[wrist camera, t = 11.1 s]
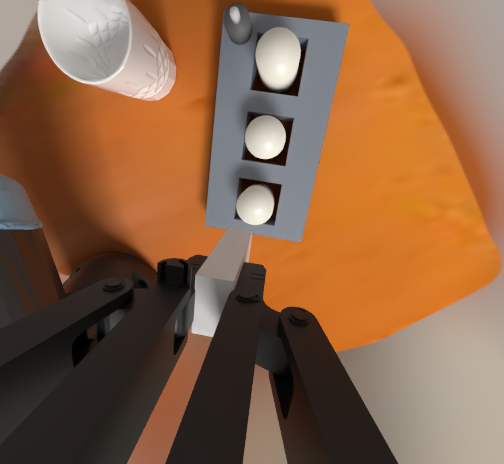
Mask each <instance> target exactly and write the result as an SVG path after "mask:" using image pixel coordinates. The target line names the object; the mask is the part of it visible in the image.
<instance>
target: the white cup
mask: <svg viewBox="0 0 504 464" xmlns="http://www.w3.org/2000/svg"><path fill="white" fill-rule="evenodd" d="M37 16H38V26H39V31H40V35H41V38H42V41H43V43H44V46H45V48H46V50H47V52H48V54H49V55H50V57H51V59H52V60H53V61H54V63H55V64H56V65H57V66H58V67H59V68H60V69H61V70H62V71H63V72H64V73H65V74H66V75H68V76H69V77H71V78H73V79H74V80H76V81H79V82H82V83H85V84H88V85H92V86H95V87H98V88H102V89H105V90H108V91H111V92H115V93H118V94H122V95H126V96H129V97H134V98H139V99H142V100H145V101H155V100H160V99H161V98H163V97H164V96H166V95H167V94H169V92H170V90H171V89H172V87H173V85H174V83H175V78H176V64H175V60H174V57H173V53H172V51H171V50H170V49H169V48H168V46H167V45H166V44H165V42H164V41H163V40H162V39H161V38H160V36H159V34H158V33H157V32H156V30H155V29H154V28H153V27H152V26H151V24H150V23H149V22H148V21H147V20H146V18H145V17H144V16H143V15H142V14H141V12H140V11H139V10H138V9H137V8H136V7H135V6H134V5H133V3H132V2H131V1H130V0H38V9H37Z"/></svg>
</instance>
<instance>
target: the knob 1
mask: <svg viewBox="0 0 504 464" xmlns="http://www.w3.org/2000/svg"><path fill="white" fill-rule="evenodd" d="M274 202H275V197H274V193H273V191H272V189H271V188H270V187H269V186H267V185H265V184H262V183H255V184H252V185H250V186H249V187H248V188H247V189H246V190H245V191H244V192H243V193H242V194H241V195H240V196H239V198H238V200H237V204H236V209H237V213H238V215H239V217H240V218H241V219H242V220H243V221H244V222H246V223H248V224H251V225H260V224H263V223H265V222H266V221H267V220H268V219H269V218H270V217H271V215H272V213H273V208H274Z"/></svg>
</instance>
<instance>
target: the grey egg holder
mask: <svg viewBox="0 0 504 464" xmlns="http://www.w3.org/2000/svg"><path fill="white" fill-rule="evenodd" d="M349 25H350V24H347V23H338V22H329V21H321V20H312V19H303V18H294V17H286V16H277V15H268V14H260V13H251V12H248V10H247V8H246V7H245V6H244V5H243V4H241V3H234V4H231V5H230V6H229V7H228V8H227V9H226V10H225V9H224V14H223V25H222V37H221V48H220V59H219V71H218V82H217V94H216V105H215V117H214V128H213V140H212V151H211V163H210V174H209V186H208V197H207V209H206V220H205V226H209V227H215V228H221V229H226V230H228V228H229V227H234V228H241V229H247V230H253V232H252V234H255V235H261V236H266V237H272V238H278V239H283V240H289V241H295V242H301V240H302V235H303V231H304V226H305V222H306V217H307V213H308V208H309V204H310V199H311V195H312V190H313V186H314V182H315V177H316V173H317V168H318V164H319V159H320V155H321V150H322V146H323V141H324V137H325V132H326V128H327V123H328V119H329V114H330V110H331V105H332V101H333V96H334V92H335V87H336V83H337V78H338V74H339V69H340V65H341V60H342V56H343V52H344V47H345V43H346V38H347V34H348V29H349ZM276 27H283V28H287V29H289V30H290V31H292V32H293V33H294V34H295V35H296V37H297V39H298V41H299V43H300V49H301V51H306V52H305V58H304V63H303V69H302V74H301V80H300V85H299V91H298V96H290V95H283V94H276V93H268V92H261V91H254V87H255V79H256V72H257V63H256V56H255V54H256V47H257V44H258V42H259V40H260V38H261V37H262V36H263V35H264V34H265V33H266V32H267V31H269V30H270V29H272V28H276ZM263 115H269V116H272V117H275V118H276V119H279V120H286V121H293V124H292V129H291V135H290V140H289V146H288V151H287V157H286V163H285V165H279V164H273V163H266V162H260V161H253V160H247V159H245V156H246V149H247V146H246V142H245V133H246V129H247V127H248V125H249V124H250V118H251V116H258V117H259V116H263ZM243 178H245V179H251V180H257V181H264V182H270V183H276V184H282V185H281V190H280V196H279V201H278V207H277V212H276V218H275V220H274V219H268V220H267V221H266V222H265V223H263V224H260V225H251V224H248V223H246V222H244V221H243V220H242V219H241V218H240V217H239V215H238V213H237V209H236V204H237V200H238V198H239V196H240V195H241V187H242V179H243Z"/></svg>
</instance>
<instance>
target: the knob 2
mask: <svg viewBox="0 0 504 464" xmlns="http://www.w3.org/2000/svg"><path fill="white" fill-rule="evenodd" d="M300 55H301V49H300V43H299V41H298V39H297V37H296V35H295V34H294V33H293V32H292V31H290V30H289V29H287V28H283V27H276V28H272V29H270V30H269V31H267V32H266V33H265V34H264V35H263V36H262V37H261V38H260V40H259V42H258V44H257V47H256V54H255V56H256V63H257V67H258V70H259V74H260V78H261V81H262V84H263V85H264V87H265V88H266V89H267V90H269V91H270V92H273V93H282V92H285V91H287V90H288V89H289V88H290V87H291V86H292V85H293V83H294V82H295V79H296V76H297V71H298V66H299V61H300Z"/></svg>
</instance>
